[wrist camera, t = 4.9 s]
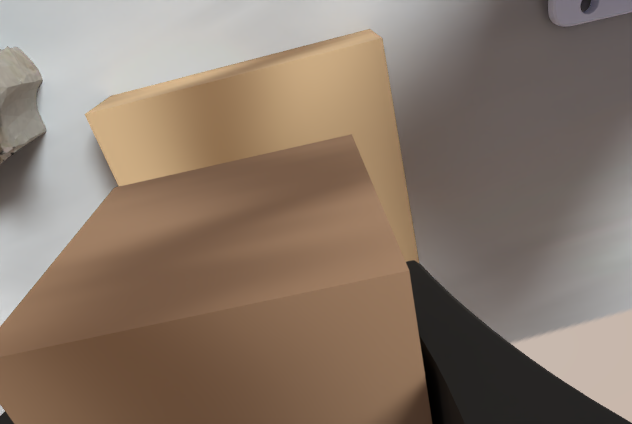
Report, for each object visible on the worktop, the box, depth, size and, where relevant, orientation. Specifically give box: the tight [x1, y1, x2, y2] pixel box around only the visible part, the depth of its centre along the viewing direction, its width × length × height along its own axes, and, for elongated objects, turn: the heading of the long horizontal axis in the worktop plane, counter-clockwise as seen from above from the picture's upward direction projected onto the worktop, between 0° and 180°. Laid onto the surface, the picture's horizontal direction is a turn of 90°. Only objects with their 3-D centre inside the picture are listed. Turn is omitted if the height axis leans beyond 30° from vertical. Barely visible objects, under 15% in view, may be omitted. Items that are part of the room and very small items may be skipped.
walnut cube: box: [0, 134, 432, 424], centre depth 9 cm, size 5×5×5 cm
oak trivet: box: [85, 29, 419, 263], centre depth 15 cm, size 8×8×2 cm
